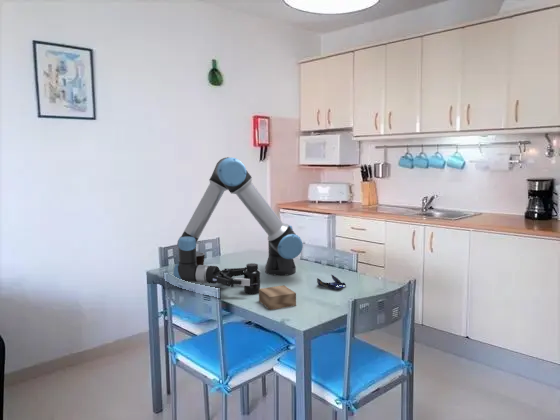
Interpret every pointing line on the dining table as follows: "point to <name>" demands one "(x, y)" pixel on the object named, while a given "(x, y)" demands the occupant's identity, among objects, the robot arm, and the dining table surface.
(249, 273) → the supplement bottle
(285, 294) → the foundation block
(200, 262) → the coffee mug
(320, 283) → the dark blue angular piece
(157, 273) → the dining table surface
